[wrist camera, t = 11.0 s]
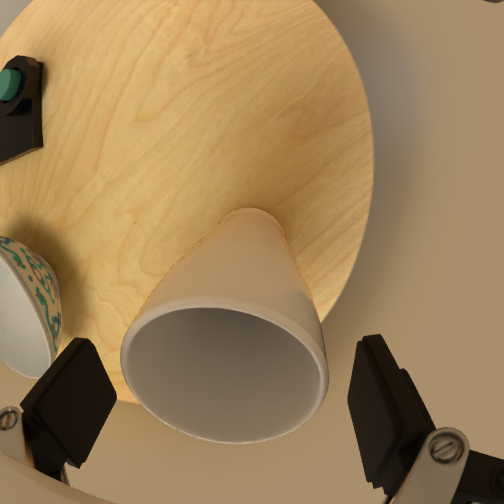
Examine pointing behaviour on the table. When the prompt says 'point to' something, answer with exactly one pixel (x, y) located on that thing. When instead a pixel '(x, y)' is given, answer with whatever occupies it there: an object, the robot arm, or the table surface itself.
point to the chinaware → (28, 310)
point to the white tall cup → (230, 338)
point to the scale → (22, 111)
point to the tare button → (9, 83)
